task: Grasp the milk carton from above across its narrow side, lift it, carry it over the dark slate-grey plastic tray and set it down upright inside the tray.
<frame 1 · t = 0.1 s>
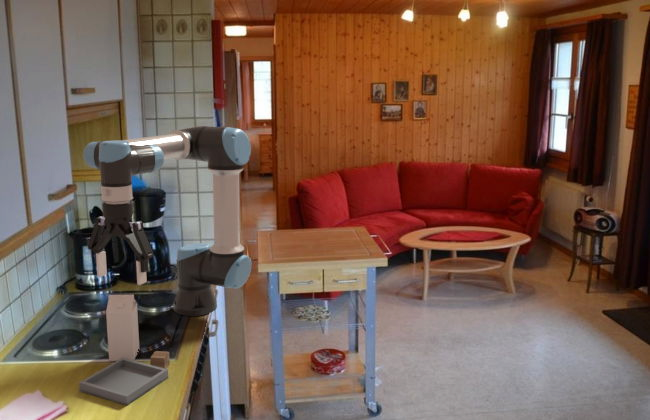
hand: (121, 279, 161), 28 cm above the worktop, fingers open, 13 cm apart
milk carton: (124, 356, 179), on the worktop
tray: (125, 384, 162), on the worktop
walnut block: (160, 367, 172), on the worktop
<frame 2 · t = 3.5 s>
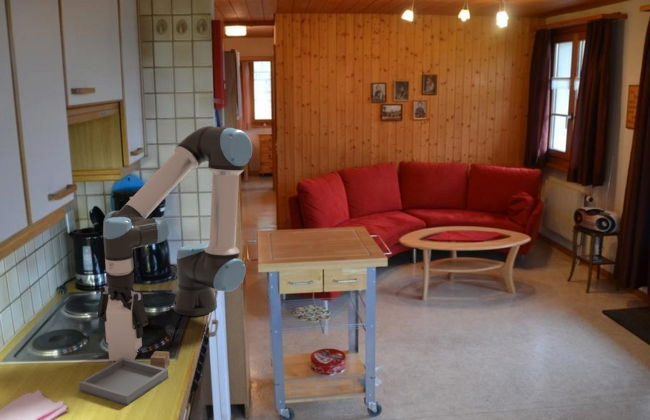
hand: (123, 344, 178), 4 cm above the worktop, fingers closed on milk carton, 10 cm apart
milk carton: (124, 356, 179), on the worktop, touching gripper
everything else where it was.
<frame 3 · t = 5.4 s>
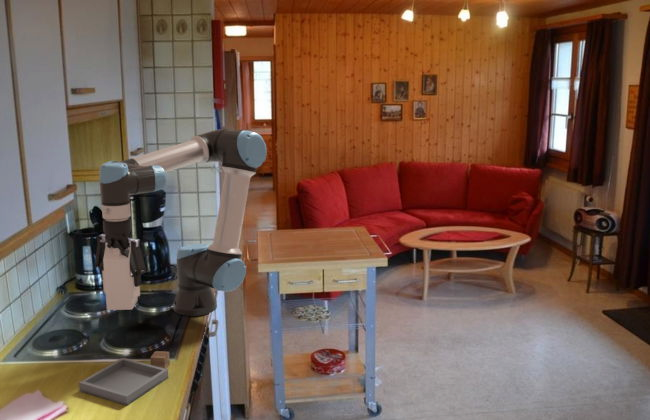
hand: (121, 293, 175), 19 cm above the worktop, fingers closed on milk carton, 10 cm apart
milk carton: (122, 306, 176), point 15 cm above the worktop, touching gripper
everything else where it was.
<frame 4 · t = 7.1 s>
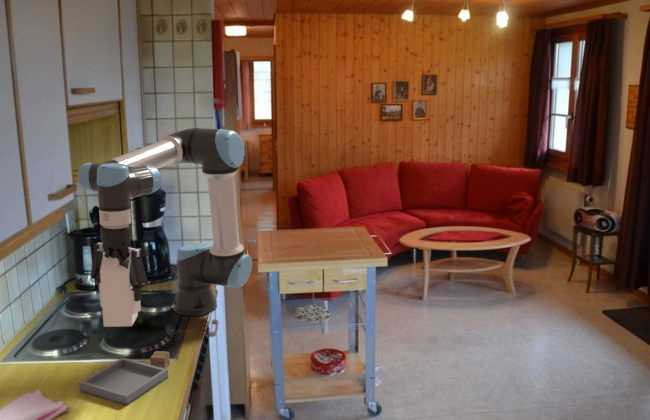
hand: (120, 308, 158), 22 cm above the worktop, fingers closed on milk carton, 10 cm apart
milk carton: (121, 322, 158), point 18 cm above the worktop, touching gripper
everything else where it was.
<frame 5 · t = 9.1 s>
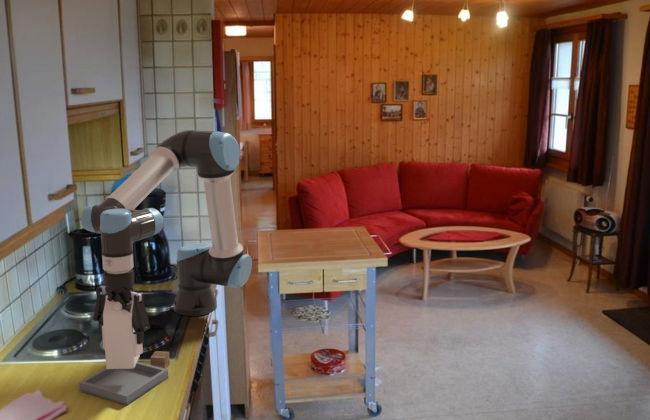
hand: (122, 350, 160), 10 cm above the worktop, fingers closed on milk carton, 10 cm apart
milk carton: (123, 363, 161), point 6 cm above the worktop, touching gripper
everything else where it was.
when the fingers open (6 cm above the worktop, at t = 10.9 s): milk carton drops 2 cm, resting on tray.
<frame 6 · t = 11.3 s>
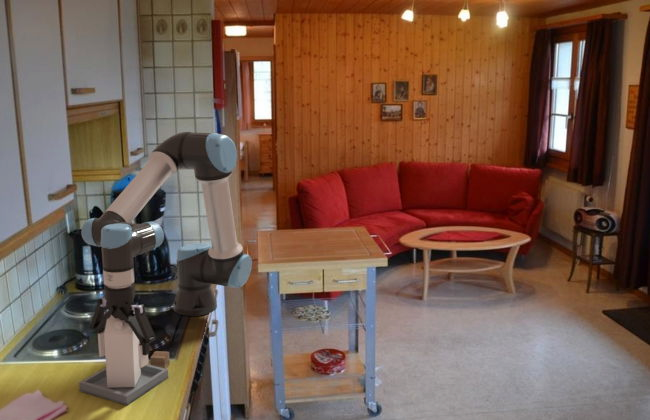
hand: (123, 360, 161), 7 cm above the worktop, fingers open, 13 cm apart
milk carton: (124, 382, 162), resting on tray
everything else where it was.
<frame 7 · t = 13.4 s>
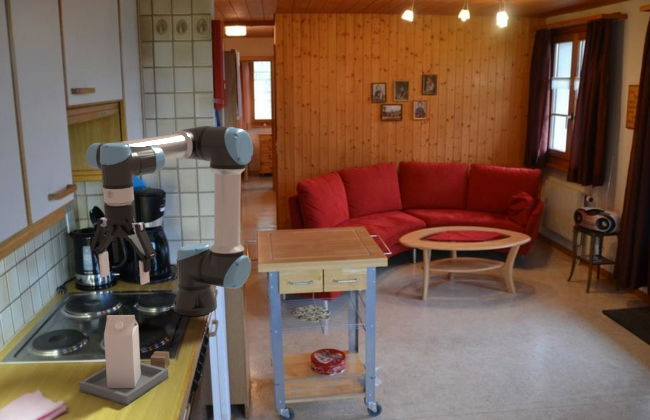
hand: (124, 279, 163), 27 cm above the worktop, fingers open, 13 cm apart
nothing on the worktop moved.
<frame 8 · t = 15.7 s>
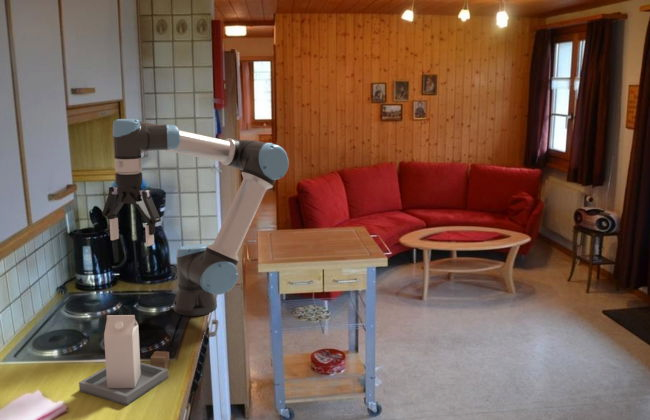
hand: (132, 242, 182), 32 cm above the worktop, fingers open, 13 cm apart
nothing on the worktop moved.
at the end: milk carton inside the target area on the tray (0.2 cm from its centre), point 0.4 cm above the tray's base; milk carton tilted 0°; the gripper is holding nothing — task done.
